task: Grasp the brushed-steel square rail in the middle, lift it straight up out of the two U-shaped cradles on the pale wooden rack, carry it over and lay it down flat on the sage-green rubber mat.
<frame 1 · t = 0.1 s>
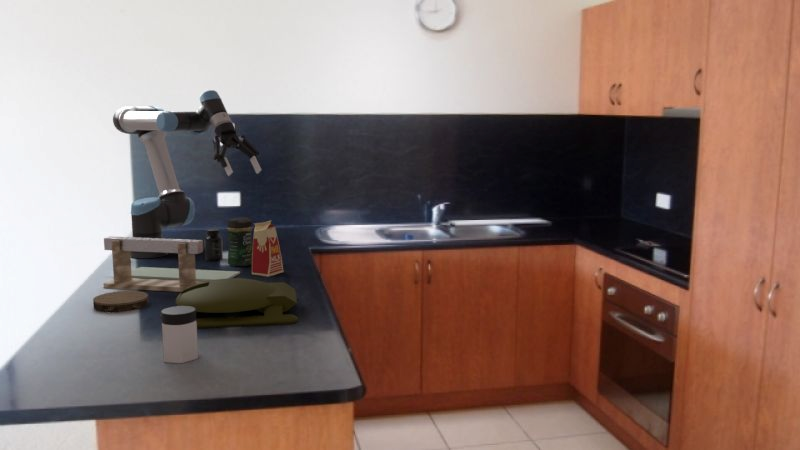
hand: (245, 173, 279), 36 cm above the counter, tool tilted 35°, fingers open, 13 cm apart
supplement bottle: (214, 259, 297), on the counter
steel rail: (153, 250, 248), point 12 cm above the counter, touching rail rack
sage mat: (180, 275, 268), on the counter
jar: (180, 358, 179), on the counter
wooden log slice: (121, 307, 226), on the counter
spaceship: (237, 314, 219), on the counter
coffee jar: (241, 265, 286), on the counter
rail rack: (155, 286, 250), on the counter
milk carton: (266, 273, 272), on the counter
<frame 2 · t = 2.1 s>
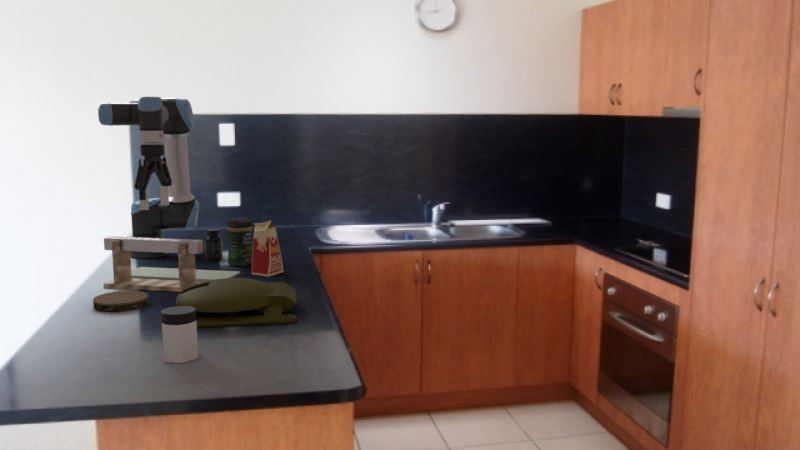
hand: (155, 207, 246), 27 cm above the counter, tool pointing down, fingers open, 13 cm apart
nothing on the counter moved.
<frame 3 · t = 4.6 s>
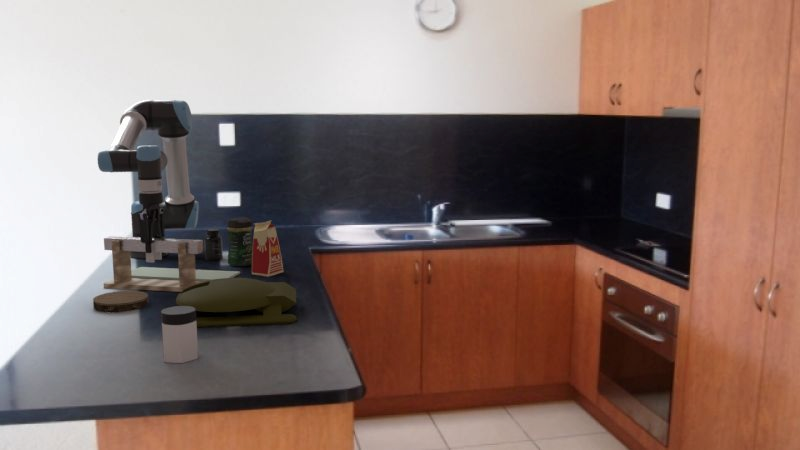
hand: (154, 260, 249), 9 cm above the counter, tool pointing down, fingers closed on steel rail, 4 cm apart
steel rail: (153, 250, 248), point 12 cm above the counter, touching gripper, rail rack
everything else where it was.
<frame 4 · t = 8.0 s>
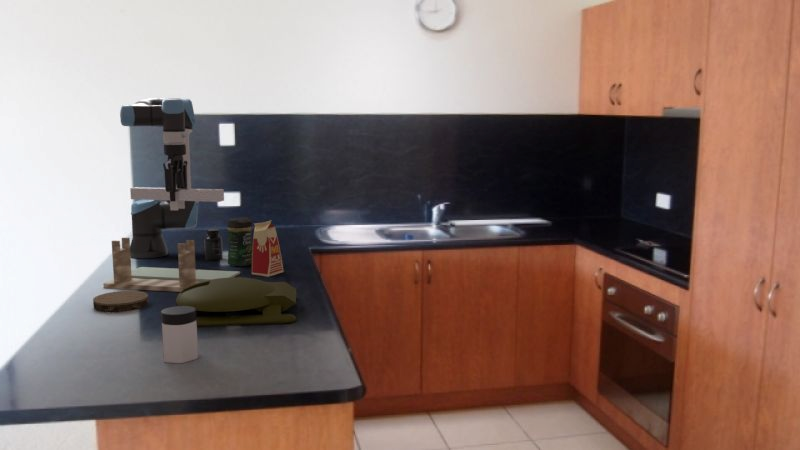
hand: (177, 209, 264), 24 cm above the counter, tool pointing down, fingers closed on steel rail, 4 cm apart
steel rail: (177, 199, 263), point 28 cm above the counter, touching gripper
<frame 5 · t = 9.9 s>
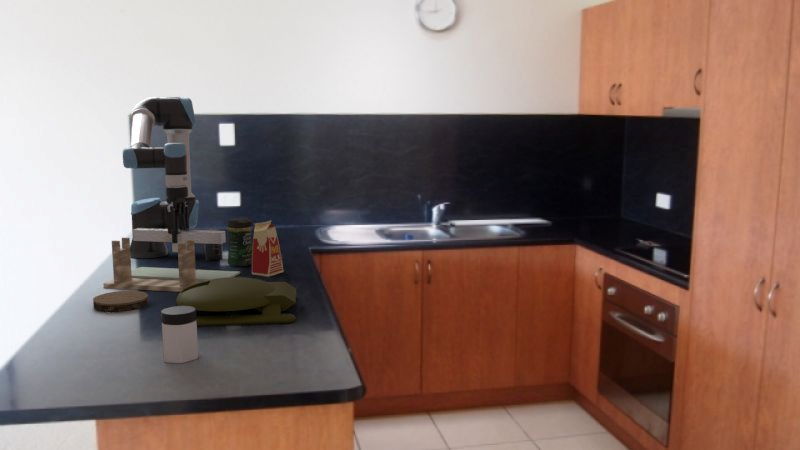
hand: (179, 250, 266), 9 cm above the counter, tool pointing down, fingers closed on steel rail, 4 cm apart
steel rail: (179, 241, 266), point 13 cm above the counter, touching gripper
when the fingers open (2 cm above the counter, at t = 11.7 s): steel rail drops 4 cm, resting on sage mat.
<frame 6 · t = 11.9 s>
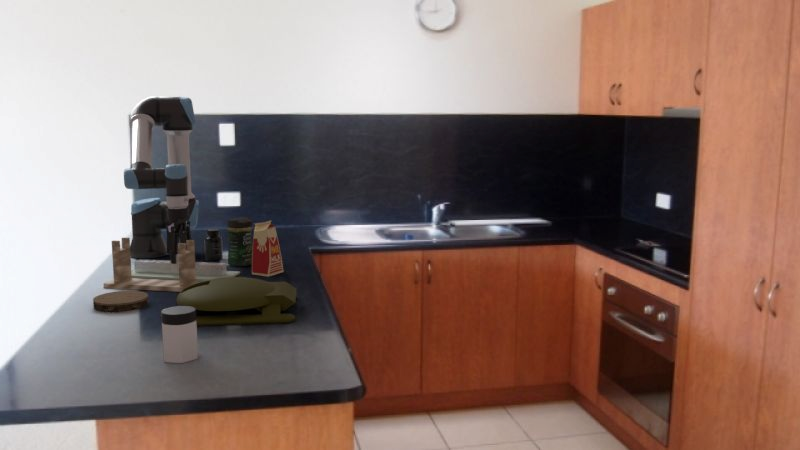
hand: (180, 269, 267), 2 cm above the counter, tool pointing down, fingers open, 7 cm apart
steel rail: (180, 273, 267), point 1 cm above the counter, touching sage mat
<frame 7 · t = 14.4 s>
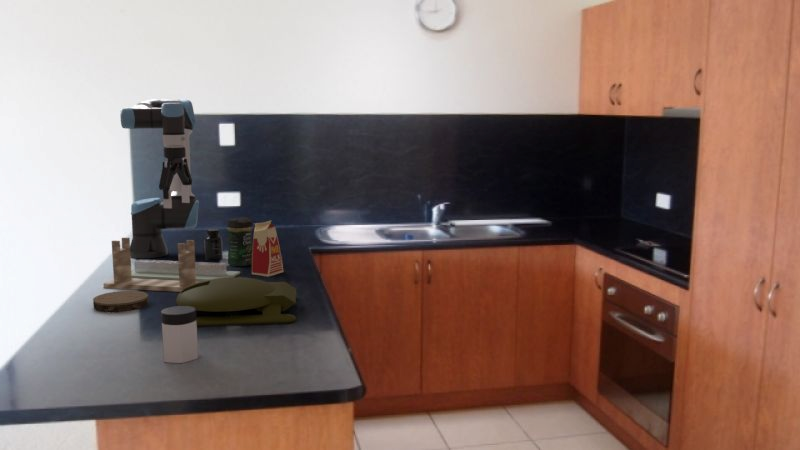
hand: (177, 205, 266), 25 cm above the counter, tool pointing down, fingers open, 13 cm apart
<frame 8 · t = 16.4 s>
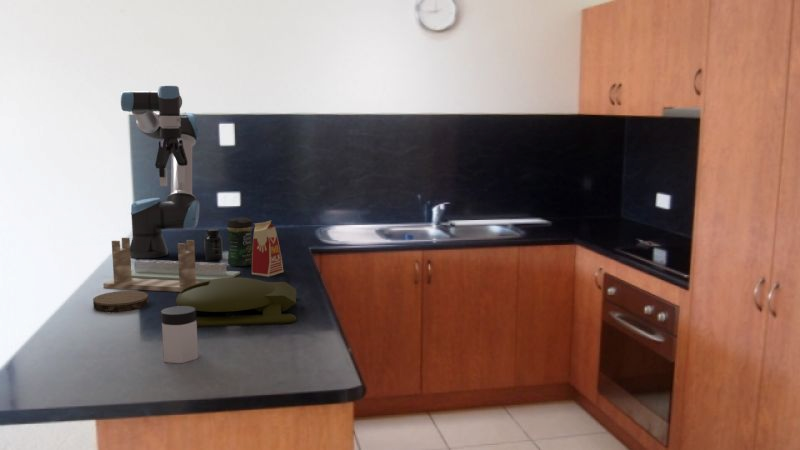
hand: (172, 184, 278), 32 cm above the counter, tool pointing down, fingers open, 13 cm apart
at the end: steel rail inside the target area (0.0 cm from its centre), point 0.8 cm above the counter; steel rail touching sage mat; the gripper is holding nothing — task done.
